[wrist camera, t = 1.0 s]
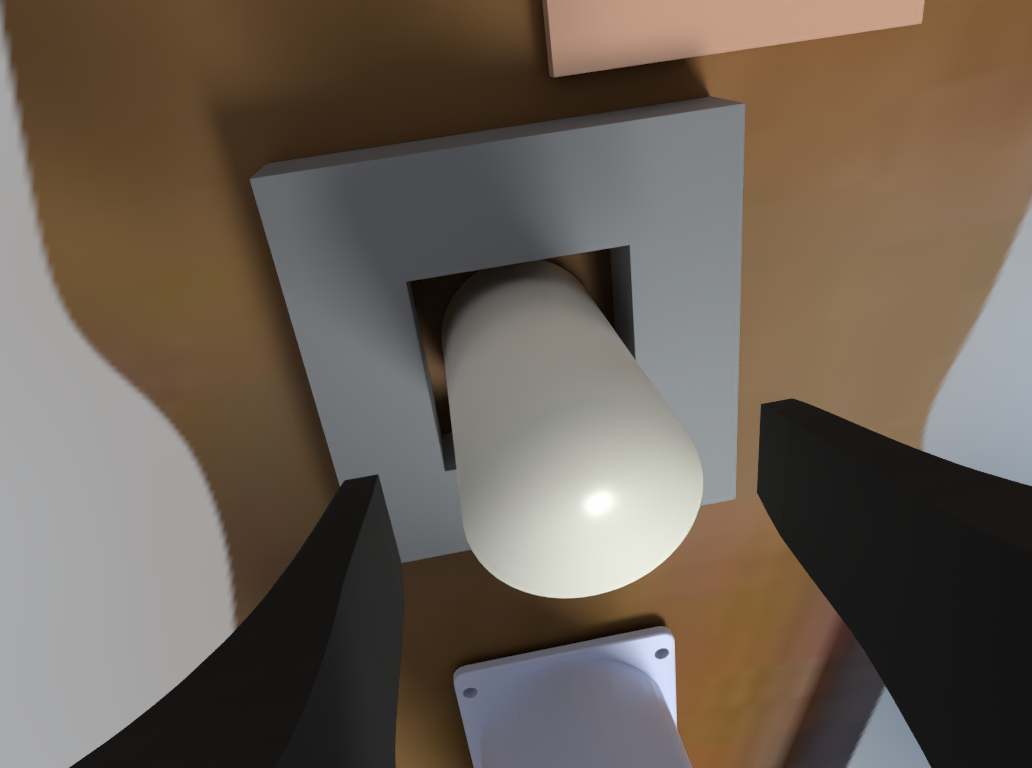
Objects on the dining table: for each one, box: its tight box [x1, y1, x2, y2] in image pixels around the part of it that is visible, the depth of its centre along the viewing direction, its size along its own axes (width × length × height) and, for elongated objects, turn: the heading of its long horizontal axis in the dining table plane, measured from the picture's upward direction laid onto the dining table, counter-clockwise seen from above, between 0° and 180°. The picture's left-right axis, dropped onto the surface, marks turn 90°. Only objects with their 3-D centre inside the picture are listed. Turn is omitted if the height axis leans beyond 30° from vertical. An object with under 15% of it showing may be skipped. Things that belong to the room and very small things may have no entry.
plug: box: [442, 260, 703, 598], centre depth 16 cm, size 4×4×8 cm
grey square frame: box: [250, 96, 745, 563], centre depth 19 cm, size 11×11×2 cm
